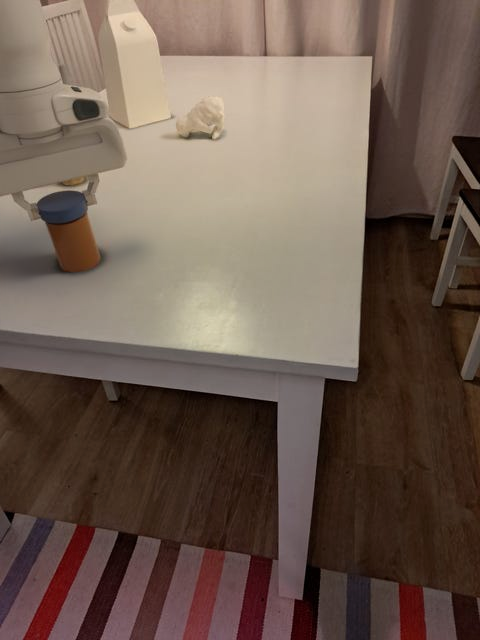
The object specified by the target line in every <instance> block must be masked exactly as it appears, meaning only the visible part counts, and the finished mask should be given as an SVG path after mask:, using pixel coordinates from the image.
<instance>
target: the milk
mask: <svg viewBox="0 0 480 640" xmlns="http://www.w3.org/2000/svg"><path fill="white" fill-rule="evenodd" d="M135 1H136V0H106V2H105V3H106V4H105V13H104V17H103V21H102V23H101V26H100V29H99V31H98V36H97V40H98V41H97V43H98V48H99V55H100V61H101V67H102V72H103V73H102V74H103V80H104V85H105V92H106V97H107V106H108V112H109V117H110V118H111V119H112V120H113V121H114V122H117V123H119V124H121V125H123V126H124V127H126V128H128V129H134V128H137V127H141V126H145V125H149V124H152V123H156V122H160V121H164V120H167V119H172V115H171V109H170V103H169V97H168V91H167V86H166V80H165V75H164V69H163V64H162V59H161V58H162V57H161V53H160V47H159V41H158V38H157V35H156V33H155V31H154V30H153V28H152V27H151V25H150V23H149V22H148V21H147V19H146V18H145V15H143V13H142V12H141V11H140V8H139V7H138V5H137V3H136V2H135Z"/></svg>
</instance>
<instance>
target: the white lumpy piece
mask: <svg viewBox="0 0 480 640" xmlns="http://www.w3.org/2000/svg"><path fill="white" fill-rule="evenodd" d="M225 106H226V105H225V103H224V101H223V99H222V98H221V97H220V96H217V95H210V96H206V97H204V98H202V99H201V100H200V101H198V102H197V103H196V104H195V106H194V107H193V108H191V110H190V111H189V112H188V113H186V114H185V115H182V116H180V117H178V118H177V119H176V122H175V129H176V131H177V132H178V133H179V134H180V135H181V136H182V137H183V138H187V137H189V136H190V132H192V131H197V132H203V133H206V134H211V138H212V140H216V139H217V138H218V137H220V136H221V134H222V132H223V129H224V126H225V121H226V120H225V119H226V118H225V111H226V107H225ZM213 125H215V126H214V127H211V126H213Z"/></svg>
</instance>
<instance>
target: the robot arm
mask: <svg viewBox="0 0 480 640" xmlns="http://www.w3.org/2000/svg"><path fill="white" fill-rule="evenodd" d="M108 113H109V106H108V103H107V101H106V100H105V98H104V97H103V96H102V95H101V94H100V93H99V92H97V91H96V90H95V89H92V88H90V87H85V86H79V87H78V86H72V85H65V84H63V82H62V78H61V75H60V72H59V67H58V65H57V64H56V63H55V61H54V58H53V55H52V49H51V34H50V30H49V25H48V22H47V20H46V15H45V12H44V9H43V6H42V3H41V0H0V197H4V196H9V195H11V197H12V200H13V202H14V203H16V204H17V205H18V206H19V207H21V208H22V209H23V210H25V211H26V212H27V214H28V218H29V220H30V221H31V222H32V221H36V220H39V219H40V220H41V215H40V213H39V209H38V207H37V202H32V203H30V202H28V201H27V200H26V199H25V195H24V192H25V191H30V190H34V189H38V188H42V187H47V186H51V185H54V184H59V183H62V182H64V181H68V180H72V179H77V178H81V177H84V178H85V177H86V179H87V180H88V184H87V189H84V190H82V191H81V193H83V194H84V196H85V200H86V203H87V206H88V207H90V206H94V205H97V204H98V200H97V197H96V193H97V190H98V186H99V184H100V180H101V179H100V177H99V174H102V173H105V172H110V171H115V170H119V169H122V168H124V167H125V166H126V164H127V161H128V155H127V151H126V147H125V143H124V141H123V137H122V135H121V132H120V129H119V127H118V126H117V124H116V121H115V120H114V119H112V118H111V117H110V115H108Z"/></svg>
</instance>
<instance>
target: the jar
mask: <svg viewBox="0 0 480 640" xmlns="http://www.w3.org/2000/svg"><path fill="white" fill-rule="evenodd" d="M91 223H92V222H91V220H90V216H89V213H88V211H87V212H86V213H85V214H84V215H83V216H81V217H80V218H78V219H75V220H72V221H69V222H64V223H48V222H45V221H44V224H45V227H46V230H47V232H48V235H49V239H50V241H51V244H52V247H53V250H54V252H55V255H56V257H57V258H56V259H57V260H58V263H59V266H60V268H61V269H62V270H63V271H65V272H69V273H79V272H85V271H88V270H90V269H92V268H94V267H95V266H96V265H98V264H99V262H100V260H101V255H100V252H99V249H98V248H99V247H98V244H97V241H96V237H95V235H94V231H93V227H92V224H91Z"/></svg>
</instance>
